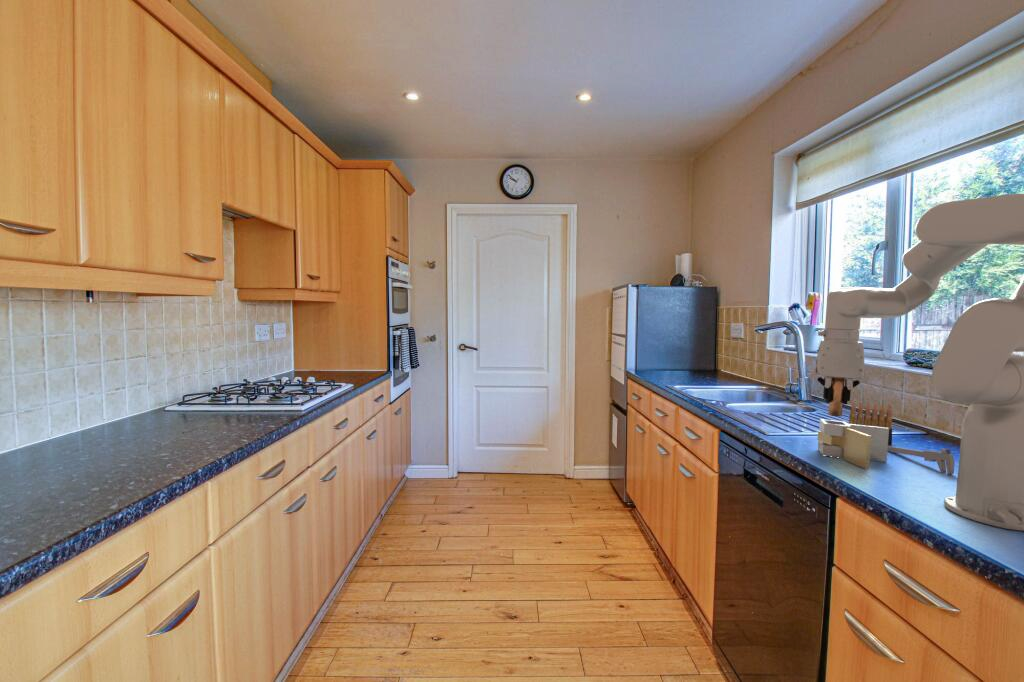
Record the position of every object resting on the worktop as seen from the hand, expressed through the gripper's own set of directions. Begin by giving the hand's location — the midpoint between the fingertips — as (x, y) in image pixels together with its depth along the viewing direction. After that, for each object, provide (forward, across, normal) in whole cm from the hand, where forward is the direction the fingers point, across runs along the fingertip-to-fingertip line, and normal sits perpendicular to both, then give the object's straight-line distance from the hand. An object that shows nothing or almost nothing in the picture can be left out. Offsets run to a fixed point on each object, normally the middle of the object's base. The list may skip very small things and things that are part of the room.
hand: (836, 402), depth 118 cm
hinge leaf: (+14, +2, -4) cm, 15 cm away
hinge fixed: (+15, +4, 0) cm, 15 cm away
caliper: (+15, +19, +5) cm, 25 cm away
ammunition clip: (+15, +13, +20) cm, 28 cm away
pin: (+4, 0, 0) cm, 4 cm away
